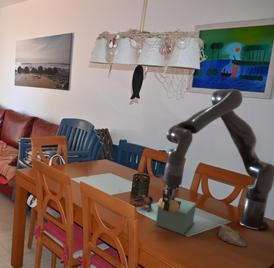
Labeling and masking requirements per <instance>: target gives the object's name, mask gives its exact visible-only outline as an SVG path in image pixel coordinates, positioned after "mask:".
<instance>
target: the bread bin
mask: <svg viewBox="0 0 274 268" xmlns="http://www.w3.org/2000/svg"><path fill="white" fill-rule="evenodd" d="M196 209H197V204H196V205H195V206H194V207H193V208H192V209H191V210H190V211H189V212H188V213H187V214H186V215H185V214H181V213H178V212H171V211H164V210H163V209H162V208H160V207H159V206H158V205H157V213H156V219H155V226H158V227H160V228H163V229H166V230H169V231H172V232H175V233H178V234H181V235H184V234H185V233H186V231H187V230H188V229H190V228H191V226H192V225H193V224H194V219H195V214H196Z"/></svg>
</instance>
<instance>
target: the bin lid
mask: <svg viewBox="0 0 274 268" xmlns="http://www.w3.org/2000/svg"><path fill="white" fill-rule="evenodd" d="M175 201H177V202H178V204H179V209H178V210H177V211H176V212H178V213H181V214H185V215H186V214H187V213H188V212H189V211H190V210H191V209H192V208H193V207H194V206H195V205H196V206H197V202H193V201H190V200H186V199H182V198H179V197H176V198H175ZM158 206H159V204H157V207H158ZM159 207H160V206H159Z"/></svg>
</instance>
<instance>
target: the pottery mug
mask: <svg viewBox="0 0 274 268" xmlns="http://www.w3.org/2000/svg"><path fill="white" fill-rule="evenodd" d="M144 202H145V204H146V206H147V207H146V211H147V212H150V211H152V204H153V202H154V199H153V197H152V196H151V195H149V196H148V195H147V196H146V195H145V194H141V195H138V196H135V197H134V198H132V205H135V206H138V204H141V205H143V204H144Z"/></svg>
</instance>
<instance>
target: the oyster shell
mask: <svg viewBox="0 0 274 268" xmlns="http://www.w3.org/2000/svg"><path fill="white" fill-rule="evenodd" d="M219 226H220V228H219V230H218V231H219V232H218V234H217V235H218V238H220V239H221V241H225V242H227V243H229V244H232V245H234V246H235V245H236V246H238V247H246V242H245V240H244V238H242V237H241V236H242V234H241V231H237V230H233V228H231V227H230V226H227V225H225V224H220V225H219Z"/></svg>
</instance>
